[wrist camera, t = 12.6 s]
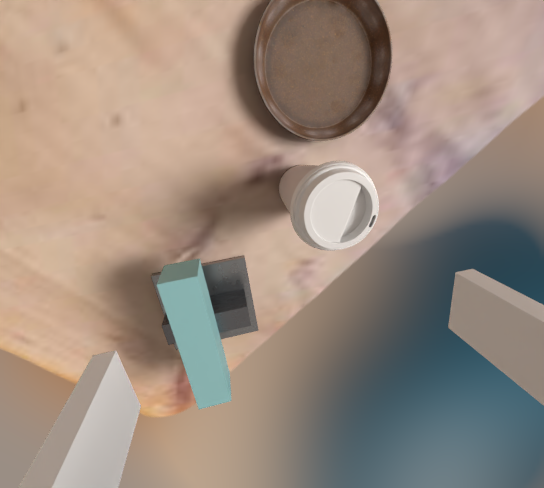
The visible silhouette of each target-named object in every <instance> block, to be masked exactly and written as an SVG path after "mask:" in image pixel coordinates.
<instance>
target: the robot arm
mask: <svg viewBox="0 0 544 488" xmlns="http://www.w3.org/2000/svg"><path fill="white" fill-rule="evenodd" d="M448 327H449V329H451V330H452V331H453V332H454V333H456V334H457V335H458V336H459V337H461V338H462V339H463V340H464V341H465V342H467V343H468V344H469V345H471V346H472V347H473V348H474V349H475V350H476V351H478V352H479V353H480V354H481V355H483V356H484V357H485V358H486V359H487V360H489V361H490V362H491V363H492V364H494V365H495V366H496V367H497V368H498V369H500V370H501V371H502V372H503V373H505V374H506V375H507V376H508V377H510V378H511V379H512V380H513V381H515V382H516V383H517V384H518V385H519V386H521V387H522V388H523V389H524V390H525V391H527V392H528V393H529V394H530V395H532V396H533V397H534V398H535V399H536V400H538V401H539V402H540V403H541V404H543V405H544V305H542V304H540V303H538V302H536V301H534V300H532V299H530V298H529V297H527V296H525V295H522V294H521V293H519V292H517V291H515V290H513V289H511V288H509V287H507V286H505V285H503V284H501V283H499V282H497V281H495V280H493V279H491V278H489V277H487V276H486V275H484V274H482V273H480V272H478V271H475V270H474V269H470V270H465V271H461V272H456V273H455V281H454V289H453V297H452V304H451V311H450V319H449V326H448ZM140 408H141V405H140V403H139V401H138V398H137V396H136V394H135V392H134V389H133V387H132V385H131V383H130V380H129V378H128V376H127V374H126V372H125V369H124V367H123V365H122V363H121V360H120V358H119V356H118V354H117V351H111V352H107V353H103V354H98V355H94V356H92V358H91V360H90V361H89V363H88V365H87V367H86V369H85V370H84V372H83V374H82V376H81V377H80V379H79V381H78V383H77V384H76V386H75V388H74V390H73V392H72V393H71V395H70V397H69V399H68V400H67V402H66V404H65V406H64V408H63V410H62V411H61V413H60V415H59V416H58V418H57V420H56V422H55V423H54V425H53V427H52V429H51V431H50V432H49V434H48V436H47V438H46V439H45V441H44V443H43V445H42V446H41V448H40V450H39V452H38V454H37V455H36V457H35V459H34V461H33V462H32V464H31V466H30V468H29V470H28V471H27V473H26V475H25V477H24V479H23V480H22V482H21V484H20V485H19V487H18V488H118V486H119V483H120V479H121V476H122V472H123V468H124V465H125V461H126V458H127V454H128V451H129V447H130V443H131V439H132V436H133V433H134V429H135V425H136V422H137V418H138V415H139V411H140Z"/></svg>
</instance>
